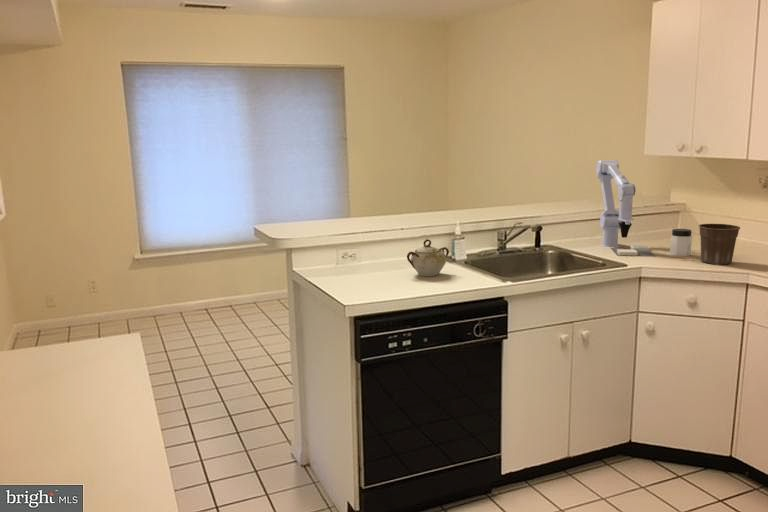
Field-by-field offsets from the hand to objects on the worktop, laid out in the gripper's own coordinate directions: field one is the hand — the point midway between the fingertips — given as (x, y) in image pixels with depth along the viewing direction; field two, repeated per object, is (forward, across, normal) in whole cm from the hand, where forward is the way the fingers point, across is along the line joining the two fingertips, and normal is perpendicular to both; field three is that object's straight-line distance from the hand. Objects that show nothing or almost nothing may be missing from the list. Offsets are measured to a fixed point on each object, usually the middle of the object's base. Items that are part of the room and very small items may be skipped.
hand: (624, 237), depth 309 cm
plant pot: (+7, -23, -35) cm, 43 cm away
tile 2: (+7, +2, -8) cm, 11 cm away
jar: (+7, -7, -24) cm, 26 cm away
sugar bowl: (+7, -60, +88) cm, 107 cm away
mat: (+7, -3, -4) cm, 9 cm away
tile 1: (+6, -6, 0) cm, 8 cm away
